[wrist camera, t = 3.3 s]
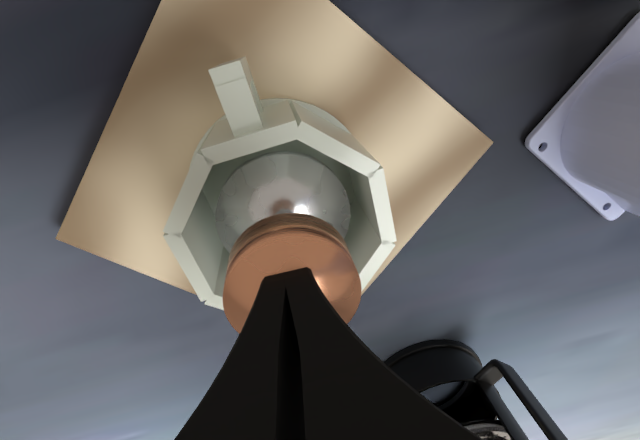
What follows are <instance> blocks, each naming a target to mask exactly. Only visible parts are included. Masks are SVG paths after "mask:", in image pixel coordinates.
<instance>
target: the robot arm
mask: <svg viewBox="0 0 640 440" xmlns="http://www.w3.org/2000/svg"><path fill="white" fill-rule="evenodd" d="M541 143H542V146H541V148H540V149H538V148H539V145H540V144H541ZM525 146H526V148H527V149H528V150H529V151H530V152H532V153H533V154H534V155H535V156H536V157H537V158H538V159H539V160H540V161H541V162H543V163H544V164H545V165H546V166H547V167H548V168H549V169H550V170H551V171H553V172H554V173H555V174H556V175H557V176H558V177H559V178H560V179H561V180H563V181H564V182H565V183H566V184H567V185H568V186H569V187H570V188H571V189H572V190H574V191H575V192H576V193H577V194H578V195H579V196H580V197H581V198H582V199H584V200H585V201H586V202H587V203H588V204H589V205H590V206H591V207H592V208H594V209H595V210H596V211H597V212H598V213H599V214H600V215H601V216H602V217H603V218H605V219H607V220H609V221H610V220H615V219H616V218H618V217H619V216H620V215H621V214H622V213H623V212H624V211H628V212H630V213H633V214H635V215H637V216H639V217H640V12H639V13H637V14H636V15H635V16H634V18H633V19H632V20H631V21H630V22H629V23H628V24H627V25H626V26H625V28H624V29H623V30H622V31H621V32H620V33H619V34H618V35H617V37H616V38H615V39H614V40H613V41H612V42H611V43H610V44H609V46H608V47H607V48H606V49H605V50H604V51H603V52H602V53H601V54H600V56H599V57H598V58H597V59H596V60H595V61H594V62H593V63H592V65H591V66H590V67H589V68H588V69H587V70H586V71H585V72H584V73H583V75H582V76H581V77H580V78H579V79H578V80H577V81H576V82H575V84H574V85H573V86H572V87H571V88H570V89H569V90H568V91H567V93H566V94H565V95H564V96H563V97H562V98H561V99H560V100H559V101H558V103H557V104H556V105H555V106H554V107H553V108H552V109H551V110H550V112H549V113H548V114H547V115H546V116H545V117H544V118H543V119H542V120H541V122H540V123H539V124H538V125H537V126H536V127H535V128H534V129H533V131H532V132H531V133H530V134H529V135H528V136H527V138H526V140H525ZM174 440H483V439H482V438H480V437H479V436H477V435H476V434H474V433H473V432H471V431H470V430H469V429H467V428H466V427H464V426H463V425H461V424H460V423H459V422H457V421H456V420H454V419H453V418H452V417H450V416H449V415H448V414H446V413H445V412H443V411H442V410H441V409H439V408H438V407H437V406H435V405H434V404H433V403H431V402H430V401H429V400H428V399H426V398H425V397H424V396H423V395H421V394H420V393H419V392H418V391H416V390H415V389H414V388H413V387H412V386H410V385H409V384H408V383H407V382H405V381H404V380H403V379H402V378H400V377H399V376H398V375H397V374H396V373H395V372H394V371H392V370H391V369H390V368H389V367H388V366H387V365H386V364H385V363H384V362H382V361H381V360H380V359H379V358H378V357H377V356H376V355H375V354H374V353H373V352H372V351H371V350H370V349H369V348H368V347H367V346H366V345H365V344H364V343H363V342H362V341H361V340H360V339H359V337H358V336H357V335H356V334H355V333H354V332H353V331H352V330H351V329H350V327H349V326H348V325H347V324H346V323H345V322H344V320H343V319H342V318H341V317H340V315H339V314H338V313H337V312H336V310H335V309H334V308H333V306H332V305H331V304H330V302H329V301H328V299H327V298H326V297H325V295H324V294H323V292H322V290H321V289H320V287H319V285H318V284H317V282H316V280H315V278H314V276H313V273H312V270H311V269H310V268H308V267H304V268H300V269H296V270H292V271H287V272H283V273H279V274H274V275H270V276H266V277H264V278H263V280H262V282H261V285H260V287H259V290H258V293H257V296H256V298H255V301H254V303H253V305H252V308H251V310H250V313H249V315H248V317H247V319H246V321H245V324H244V326H243V328H242V330H241V332H240V334H239V336H238V338H237V340H236V342H235V344H234V346H233V348H232V350H231V352H230V354H229V355H228V357H227V359H226V361H225V363H224V365H223V367H222V368H221V370H220V372H219V373H218V375H217V377H216V378H215V380H214V382H213V383H212V385H211V387H210V388H209V390H208V391H207V393H206V394H205V396H204V398H203V399H202V401H201V402H200V404H199V405H198V407H197V408H196V410H195V411H194V412H193V414H192V415H191V417H190V418H189V420H188V421H187V422H186V424H185V425H184V427H183V428H182V430H181V431H180V432H179V434H178V435H177V437H176V438H175V439H174Z"/></svg>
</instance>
